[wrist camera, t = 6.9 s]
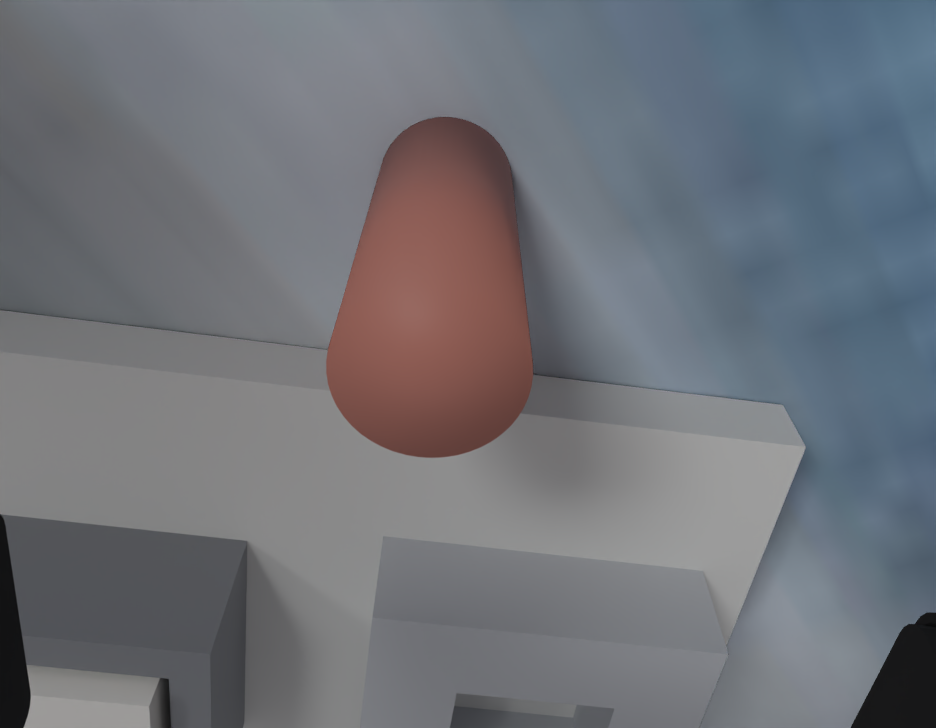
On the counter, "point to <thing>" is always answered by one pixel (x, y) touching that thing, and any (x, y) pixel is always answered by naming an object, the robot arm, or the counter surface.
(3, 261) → the counter surface
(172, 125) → the counter surface
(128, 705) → the button
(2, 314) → the panel
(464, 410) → the peg
